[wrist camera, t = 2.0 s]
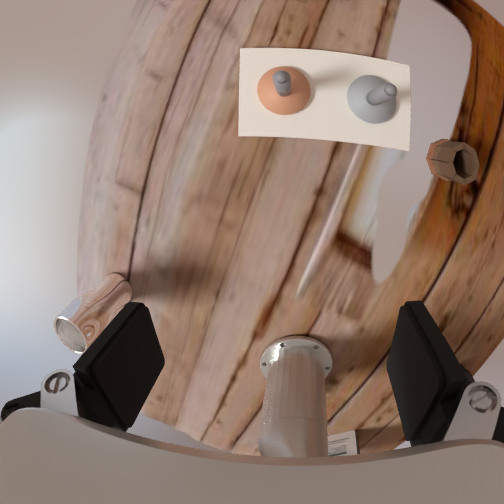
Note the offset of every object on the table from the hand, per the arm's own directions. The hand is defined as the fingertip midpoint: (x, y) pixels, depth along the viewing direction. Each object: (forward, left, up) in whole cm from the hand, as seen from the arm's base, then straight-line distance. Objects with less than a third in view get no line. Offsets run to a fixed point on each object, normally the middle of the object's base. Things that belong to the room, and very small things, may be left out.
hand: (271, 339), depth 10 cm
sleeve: (-5, -23, -30) cm, 37 cm away
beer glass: (-1, +33, -30) cm, 45 cm away
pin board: (+9, -11, -30) cm, 33 cm away
